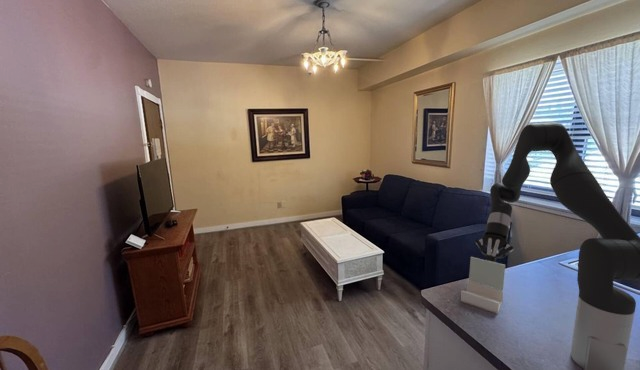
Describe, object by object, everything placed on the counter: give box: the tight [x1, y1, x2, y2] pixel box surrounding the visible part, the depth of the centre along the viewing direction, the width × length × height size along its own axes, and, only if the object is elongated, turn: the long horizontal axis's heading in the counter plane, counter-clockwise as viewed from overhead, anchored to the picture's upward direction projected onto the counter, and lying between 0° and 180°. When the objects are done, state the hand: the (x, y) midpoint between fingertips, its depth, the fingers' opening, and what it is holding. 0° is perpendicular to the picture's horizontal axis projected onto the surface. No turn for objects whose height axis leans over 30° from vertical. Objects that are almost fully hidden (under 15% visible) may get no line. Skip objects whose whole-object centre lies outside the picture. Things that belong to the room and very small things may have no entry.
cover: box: [468, 256, 506, 291], centre depth 95 cm, size 11×9×1 cm
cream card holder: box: [460, 280, 504, 315], centre depth 92 cm, size 11×9×4 cm
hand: (489, 266), depth 98 cm, fingers closed
